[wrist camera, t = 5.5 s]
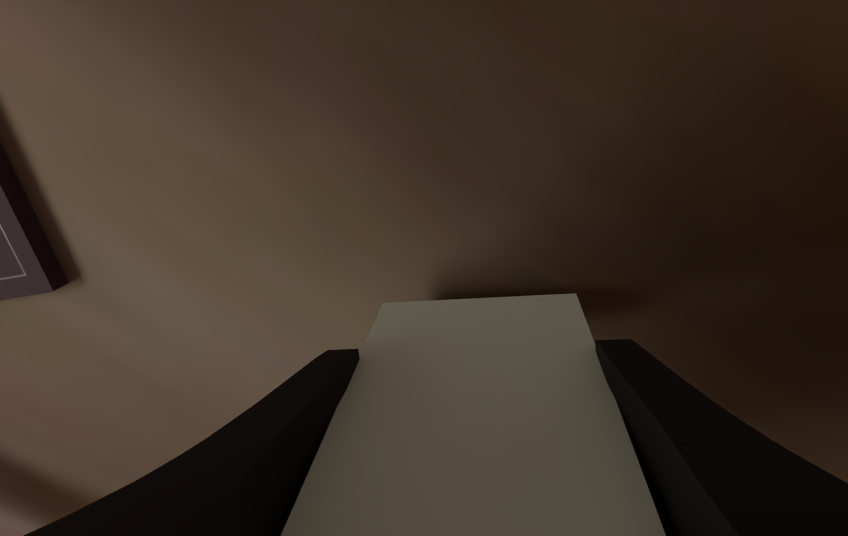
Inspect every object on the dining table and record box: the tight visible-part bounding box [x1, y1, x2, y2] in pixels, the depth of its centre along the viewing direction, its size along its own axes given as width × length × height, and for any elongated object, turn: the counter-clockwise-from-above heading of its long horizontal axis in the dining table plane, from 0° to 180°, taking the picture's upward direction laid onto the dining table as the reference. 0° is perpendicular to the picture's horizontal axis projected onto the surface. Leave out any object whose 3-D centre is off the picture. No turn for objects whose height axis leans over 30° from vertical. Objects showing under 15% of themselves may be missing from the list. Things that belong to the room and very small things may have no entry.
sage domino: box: [281, 293, 666, 536], centre depth 9 cm, size 2×4×7 cm, turn 96°
